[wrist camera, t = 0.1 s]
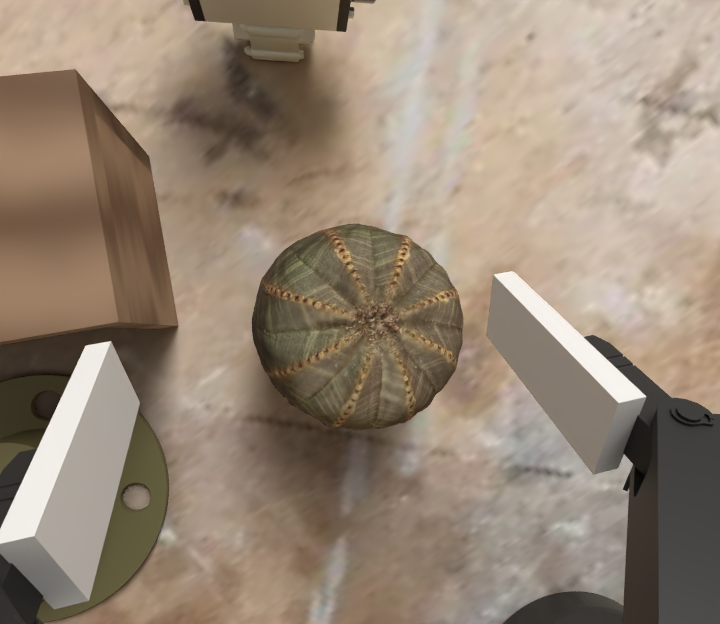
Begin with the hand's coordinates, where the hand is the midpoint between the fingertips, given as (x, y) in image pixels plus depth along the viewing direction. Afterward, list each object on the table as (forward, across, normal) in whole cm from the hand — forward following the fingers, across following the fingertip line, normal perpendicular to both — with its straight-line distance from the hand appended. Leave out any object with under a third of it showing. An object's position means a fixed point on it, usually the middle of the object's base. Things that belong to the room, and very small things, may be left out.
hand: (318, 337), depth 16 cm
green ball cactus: (+13, -3, +9) cm, 16 cm away
